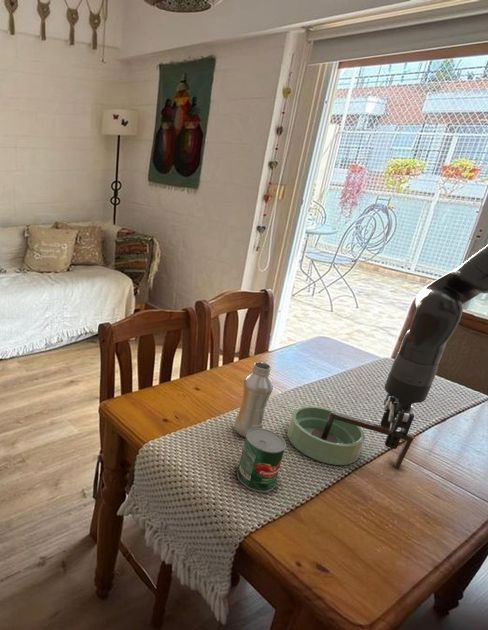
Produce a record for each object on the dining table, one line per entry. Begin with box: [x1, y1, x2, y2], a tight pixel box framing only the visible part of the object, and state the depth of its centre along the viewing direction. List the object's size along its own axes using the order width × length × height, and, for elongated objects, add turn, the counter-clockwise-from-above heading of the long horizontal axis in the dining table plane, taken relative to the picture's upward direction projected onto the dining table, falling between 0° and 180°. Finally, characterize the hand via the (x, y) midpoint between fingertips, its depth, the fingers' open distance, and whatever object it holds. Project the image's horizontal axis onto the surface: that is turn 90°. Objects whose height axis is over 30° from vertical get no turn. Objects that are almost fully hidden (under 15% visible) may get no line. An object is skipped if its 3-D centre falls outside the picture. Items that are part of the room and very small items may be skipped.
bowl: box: [286, 405, 366, 466], centre depth 108 cm, size 16×16×6 cm
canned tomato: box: [236, 428, 287, 493], centre depth 95 cm, size 8×8×11 cm
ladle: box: [311, 411, 414, 469], centre depth 104 cm, size 19×6×9 cm, turn 62°
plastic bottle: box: [234, 361, 274, 438], centre depth 108 cm, size 6×7×20 cm
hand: (387, 436), depth 101 cm, fingers open, 8 cm apart
